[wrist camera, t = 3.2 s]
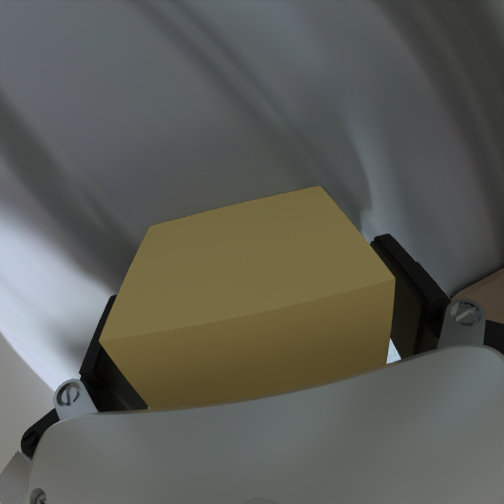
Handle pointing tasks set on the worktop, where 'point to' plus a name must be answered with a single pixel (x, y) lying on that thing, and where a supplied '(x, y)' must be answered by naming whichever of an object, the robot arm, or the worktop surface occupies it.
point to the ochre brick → (250, 302)
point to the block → (487, 295)
